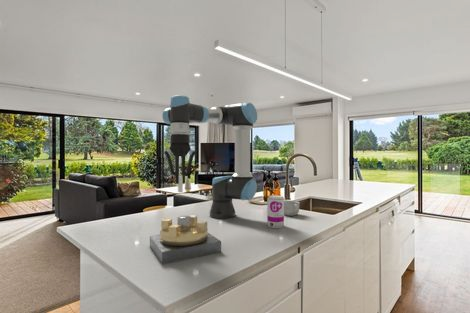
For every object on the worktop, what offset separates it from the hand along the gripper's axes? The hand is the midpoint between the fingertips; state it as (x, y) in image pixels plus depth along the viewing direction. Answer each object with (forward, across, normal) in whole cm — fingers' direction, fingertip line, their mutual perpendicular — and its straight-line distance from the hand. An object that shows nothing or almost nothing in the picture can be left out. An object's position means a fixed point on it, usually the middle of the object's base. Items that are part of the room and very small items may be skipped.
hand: (180, 191), depth 111 cm
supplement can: (+21, +49, +8) cm, 54 cm away
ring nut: (+17, 0, -7) cm, 19 cm away
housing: (+21, 0, -7) cm, 22 cm away
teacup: (+21, +68, +24) cm, 76 cm away
